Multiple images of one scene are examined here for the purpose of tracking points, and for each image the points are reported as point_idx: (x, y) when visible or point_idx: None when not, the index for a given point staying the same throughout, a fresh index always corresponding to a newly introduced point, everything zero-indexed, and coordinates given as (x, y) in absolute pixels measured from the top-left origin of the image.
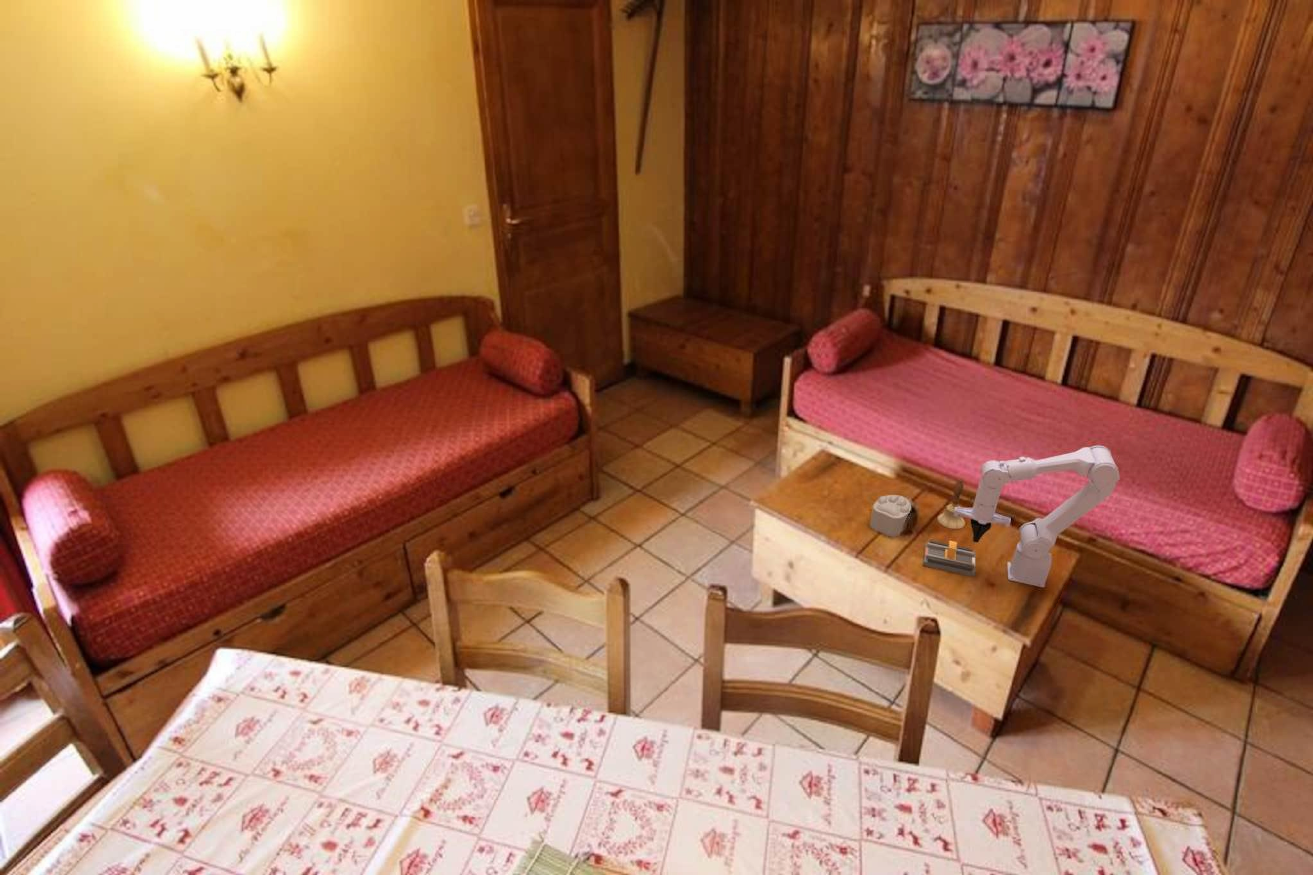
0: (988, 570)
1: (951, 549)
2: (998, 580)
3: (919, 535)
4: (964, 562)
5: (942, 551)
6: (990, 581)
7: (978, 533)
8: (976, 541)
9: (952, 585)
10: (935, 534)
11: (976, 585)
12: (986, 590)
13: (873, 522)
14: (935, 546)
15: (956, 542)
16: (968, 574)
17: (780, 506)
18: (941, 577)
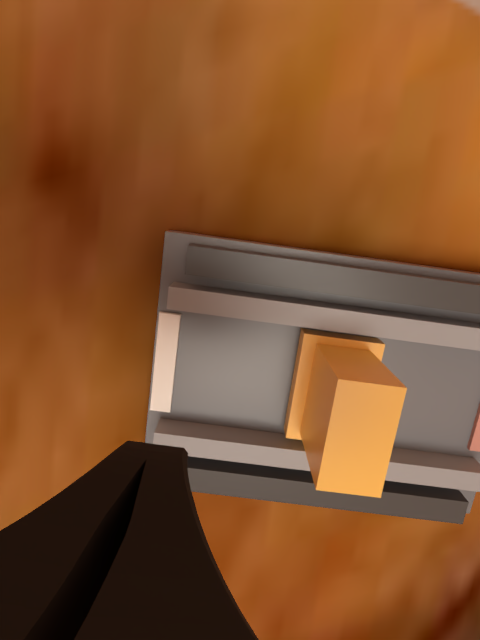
0: (68, 328)
1: (378, 378)
2: (6, 232)
3: (466, 581)
4: (242, 309)
5: None
6: (61, 207)
7: (102, 560)
8: (143, 447)
9: (339, 89)
10: (364, 609)
11: (163, 134)
12: (96, 89)
13: None
14: (431, 463)
15: (319, 483)
16: (210, 235)
17: None
18: (405, 170)
